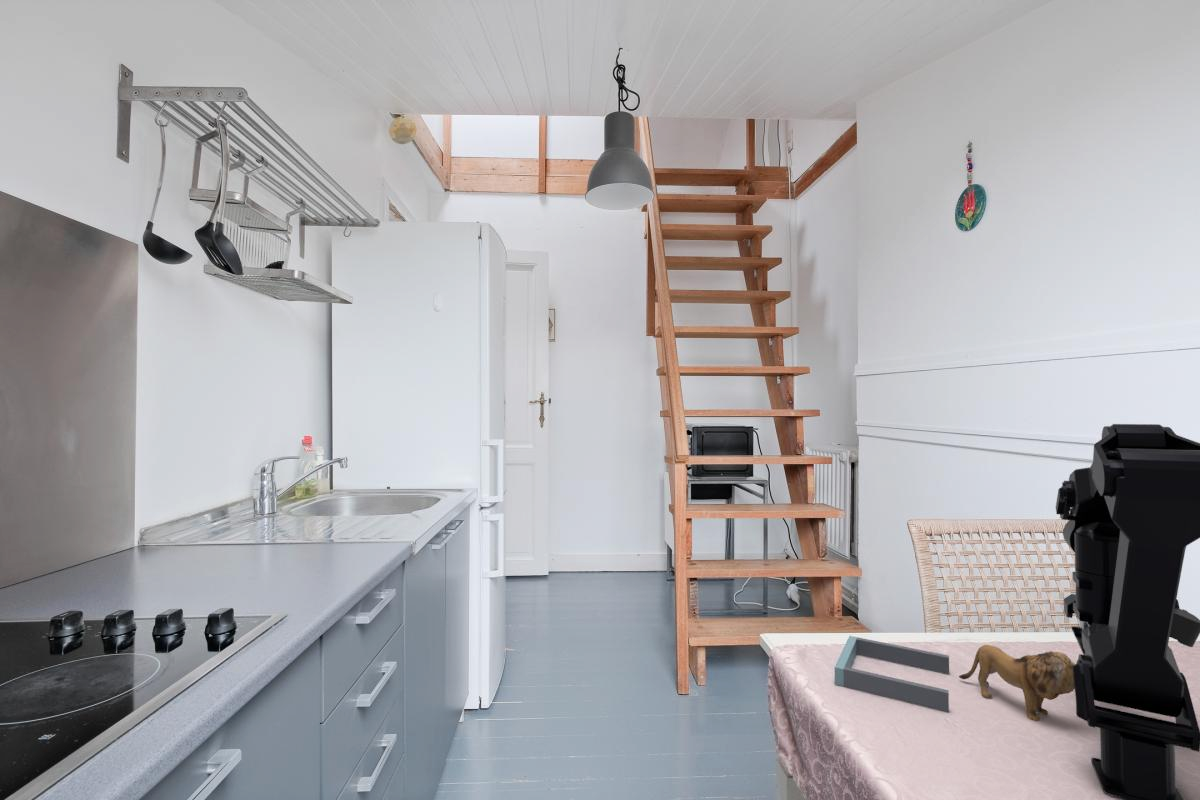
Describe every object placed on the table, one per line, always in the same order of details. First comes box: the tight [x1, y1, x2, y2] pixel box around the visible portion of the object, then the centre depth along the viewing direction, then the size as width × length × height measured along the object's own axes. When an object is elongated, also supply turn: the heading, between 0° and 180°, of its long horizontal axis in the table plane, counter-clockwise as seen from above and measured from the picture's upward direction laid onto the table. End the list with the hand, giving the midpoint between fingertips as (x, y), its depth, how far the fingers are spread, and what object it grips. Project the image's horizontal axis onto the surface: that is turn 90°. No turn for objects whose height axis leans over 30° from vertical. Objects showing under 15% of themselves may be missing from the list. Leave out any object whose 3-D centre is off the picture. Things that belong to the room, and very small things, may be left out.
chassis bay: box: [834, 635, 950, 713], centre depth 84 cm, size 14×14×2 cm
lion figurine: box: [958, 644, 1076, 722], centre depth 76 cm, size 15×5×9 cm, turn 26°
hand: (1107, 694), depth 71 cm, fingers closed
